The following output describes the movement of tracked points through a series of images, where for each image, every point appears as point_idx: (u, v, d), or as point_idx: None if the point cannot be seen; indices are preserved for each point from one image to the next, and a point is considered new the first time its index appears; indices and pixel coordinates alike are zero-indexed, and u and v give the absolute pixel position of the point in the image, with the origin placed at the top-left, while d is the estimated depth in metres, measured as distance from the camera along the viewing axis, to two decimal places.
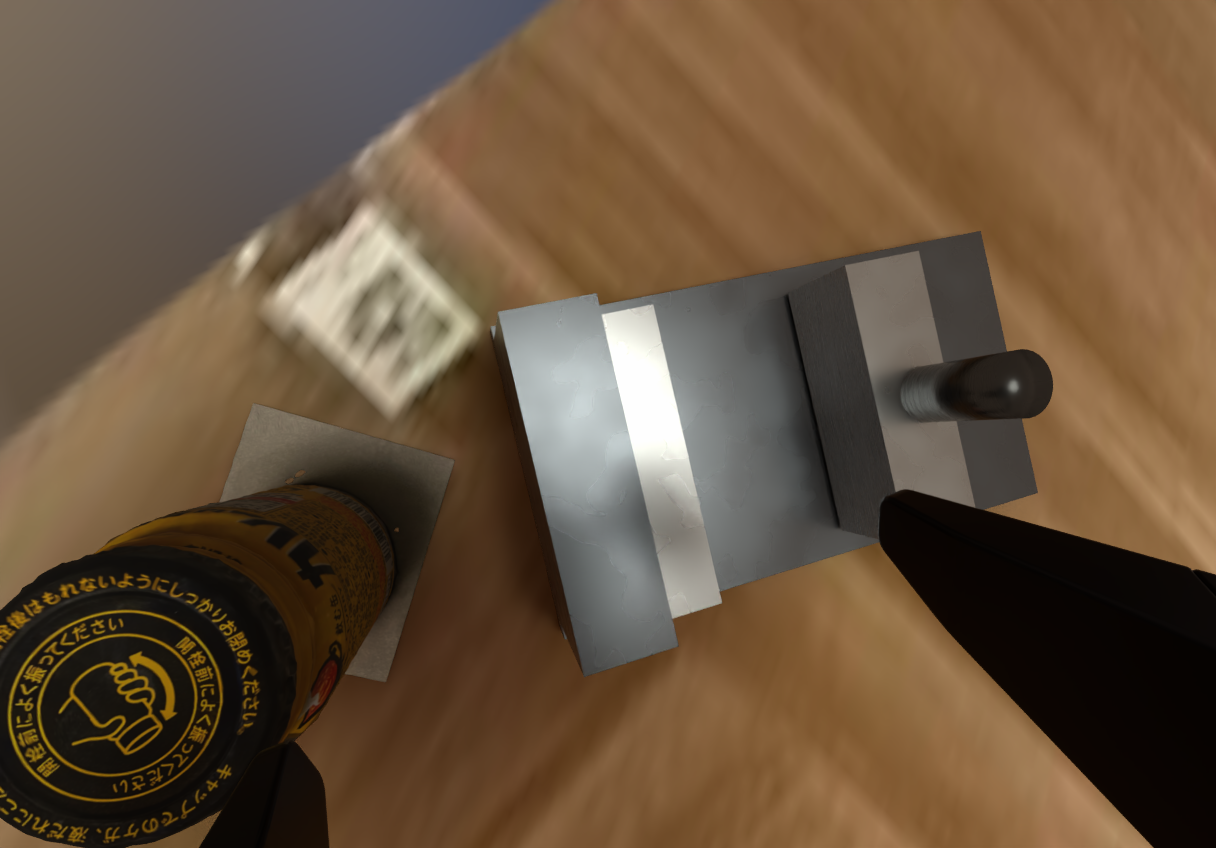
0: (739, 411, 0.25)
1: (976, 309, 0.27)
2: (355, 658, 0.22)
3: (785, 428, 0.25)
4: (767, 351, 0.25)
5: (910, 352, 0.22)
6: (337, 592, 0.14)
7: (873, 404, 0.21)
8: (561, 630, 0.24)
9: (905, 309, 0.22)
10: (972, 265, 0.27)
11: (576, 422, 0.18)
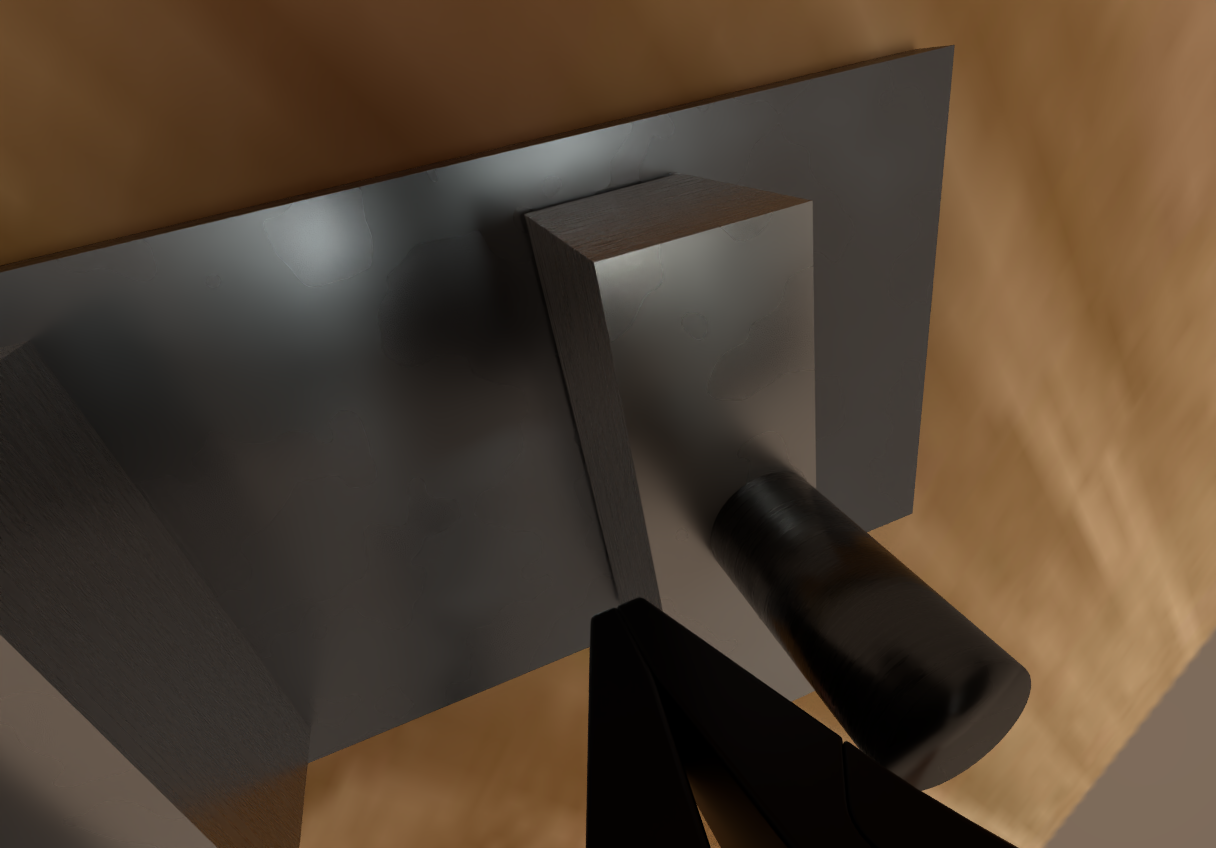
0: (387, 478, 0.12)
1: (898, 230, 0.14)
2: None
3: (489, 493, 0.13)
4: (441, 357, 0.11)
5: (746, 452, 0.09)
6: None
7: (650, 556, 0.10)
8: None
9: (750, 360, 0.09)
10: (915, 132, 0.13)
11: None
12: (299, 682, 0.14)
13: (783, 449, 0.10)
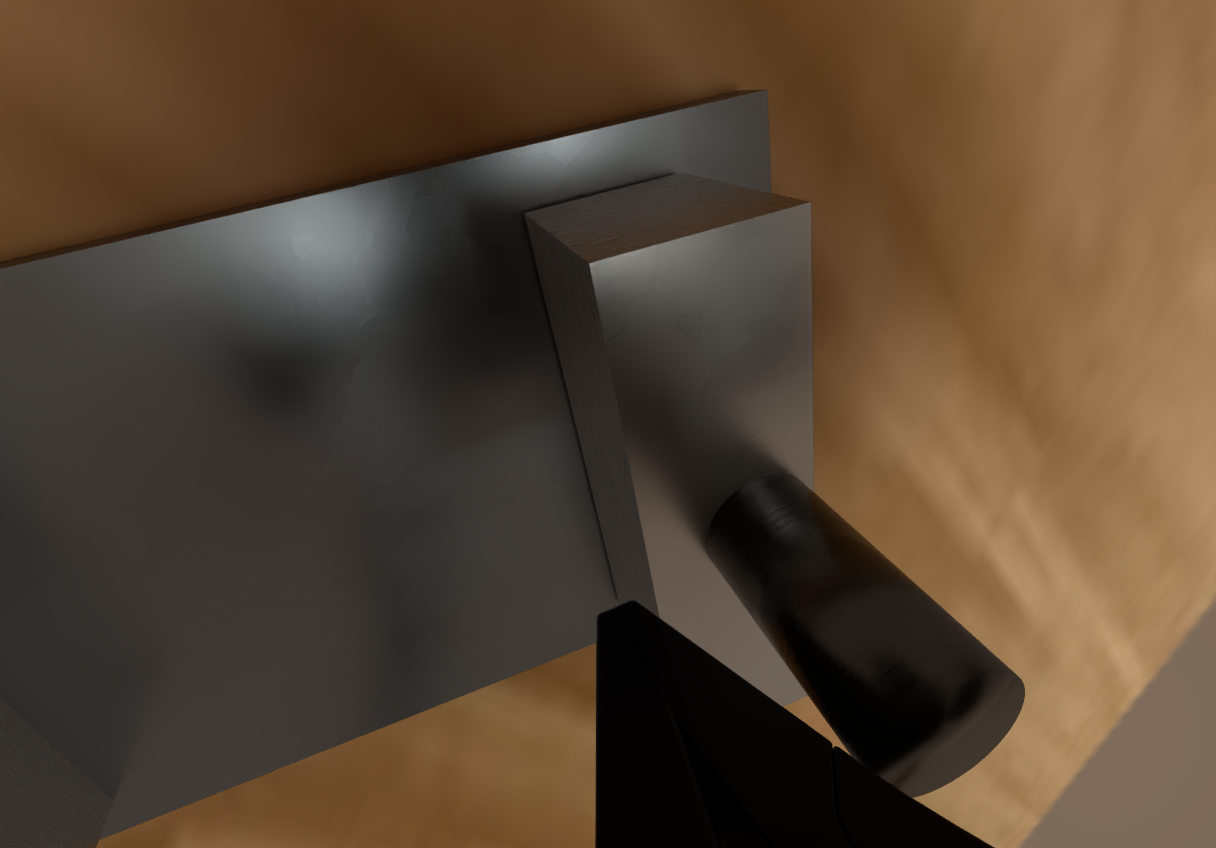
0: (157, 550, 0.11)
1: None
2: None
3: (282, 561, 0.12)
4: (199, 426, 0.11)
5: (743, 454, 0.09)
6: None
7: (644, 558, 0.10)
8: None
9: (746, 362, 0.09)
10: (733, 181, 0.12)
11: None
12: (91, 754, 0.13)
13: (780, 451, 0.10)
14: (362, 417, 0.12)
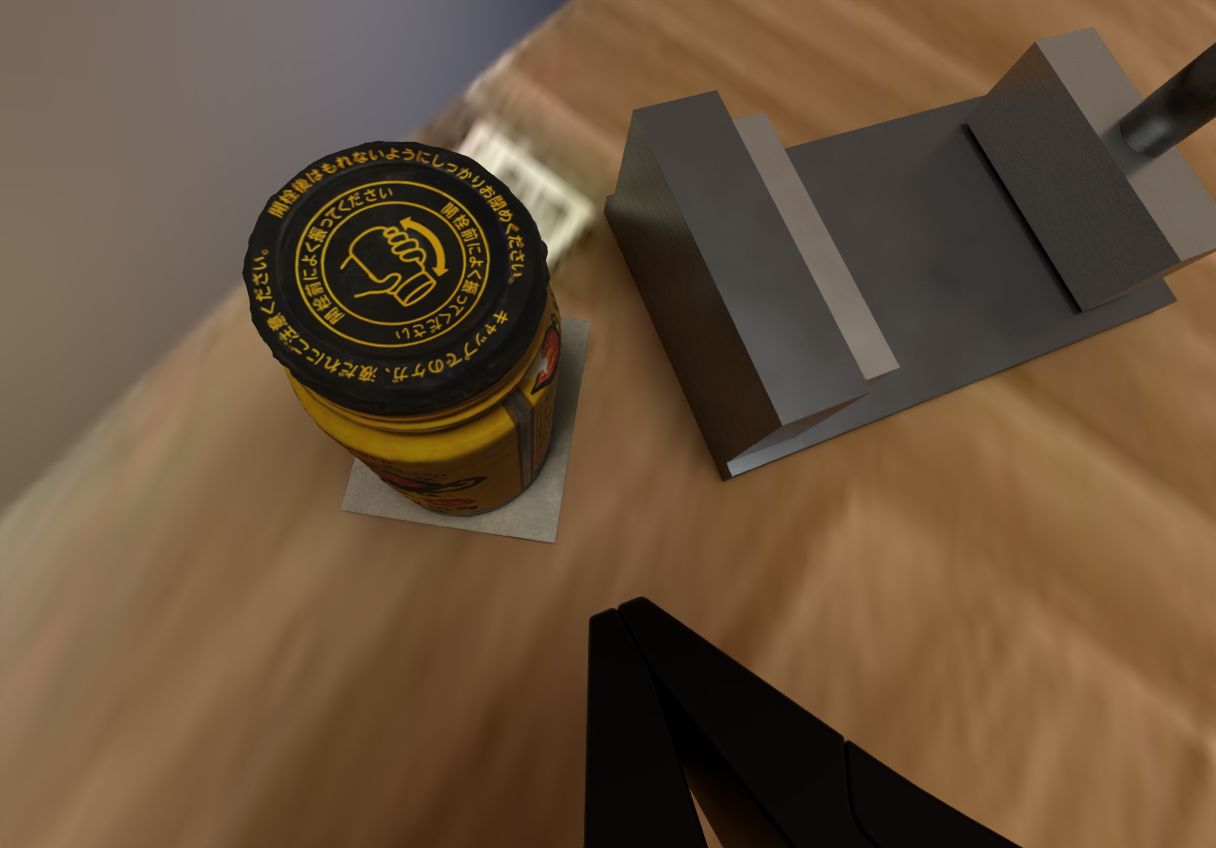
0: (854, 249, 0.25)
1: None
2: (520, 521, 0.21)
3: (902, 260, 0.25)
4: (866, 195, 0.26)
5: (1117, 102, 0.23)
6: None
7: (1099, 147, 0.23)
8: (724, 476, 0.22)
9: (1099, 70, 0.24)
10: None
11: (722, 193, 0.19)
12: None
13: (1132, 103, 0.23)
14: (923, 195, 0.26)
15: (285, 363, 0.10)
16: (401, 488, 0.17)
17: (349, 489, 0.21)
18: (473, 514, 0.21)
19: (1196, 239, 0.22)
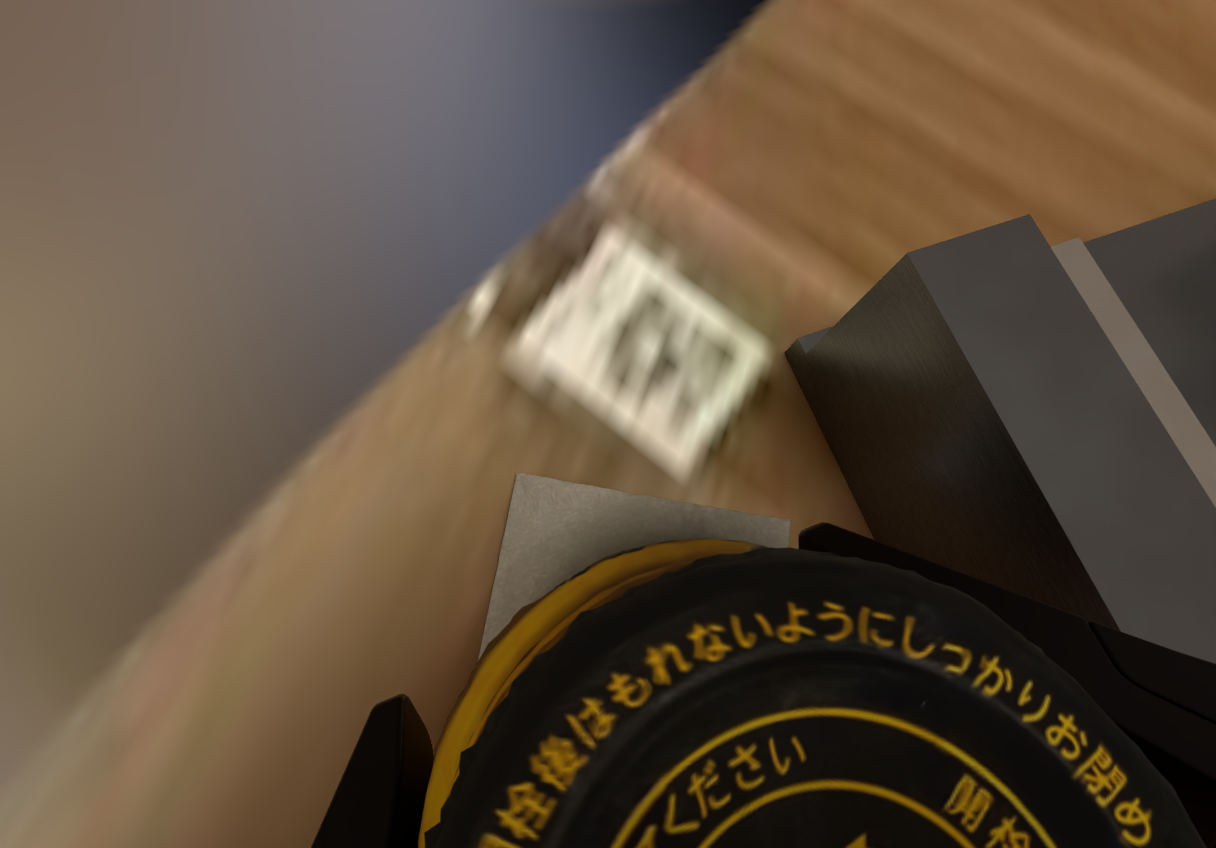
0: None
1: None
2: None
3: None
4: (1157, 325, 0.18)
5: None
6: None
7: None
8: None
9: None
10: None
11: (1066, 394, 0.11)
12: None
13: None
14: None
15: None
16: None
17: None
18: None
19: None
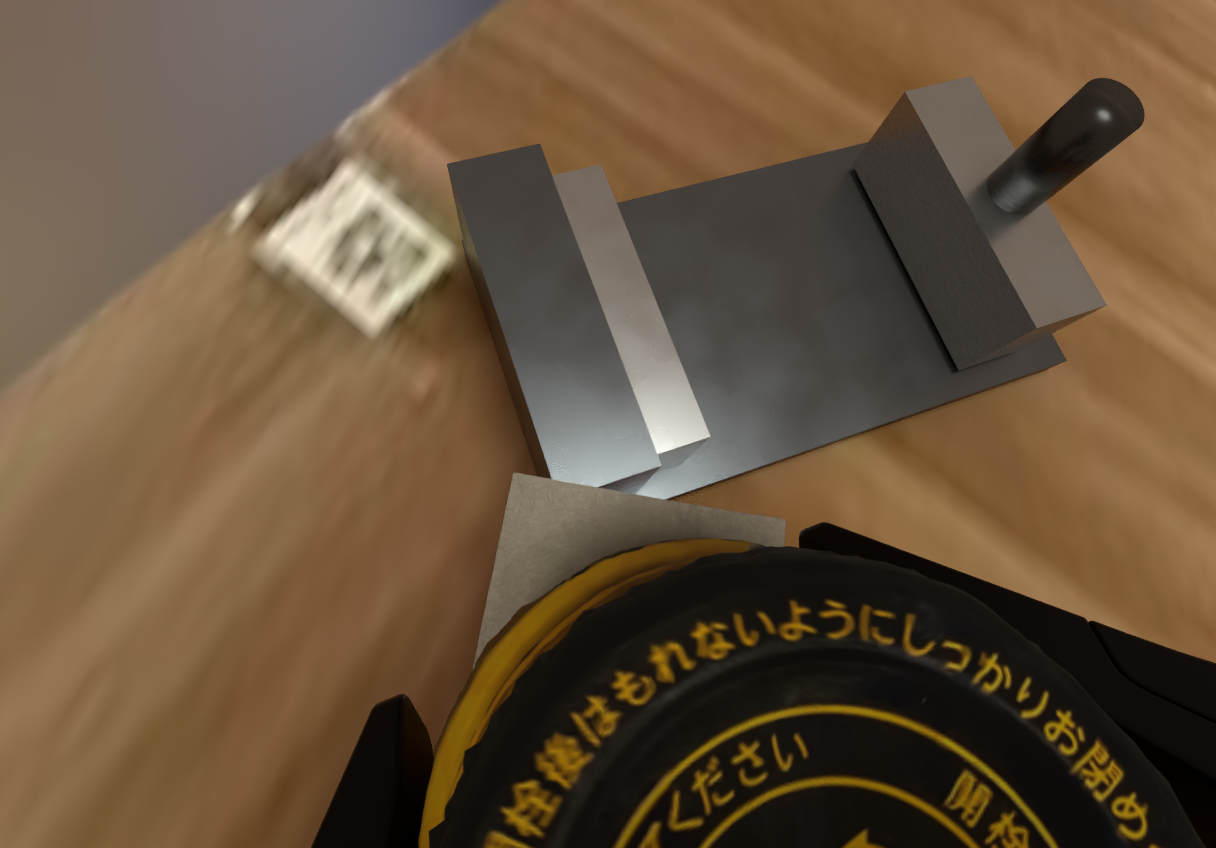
0: (718, 299, 0.24)
1: None
2: None
3: (769, 312, 0.24)
4: (738, 244, 0.25)
5: (987, 157, 0.22)
6: None
7: (963, 203, 0.22)
8: None
9: (972, 122, 0.23)
10: None
11: (529, 252, 0.18)
12: None
13: (1004, 157, 0.22)
14: (799, 244, 0.25)
15: None
16: None
17: None
18: None
19: (1057, 305, 0.21)
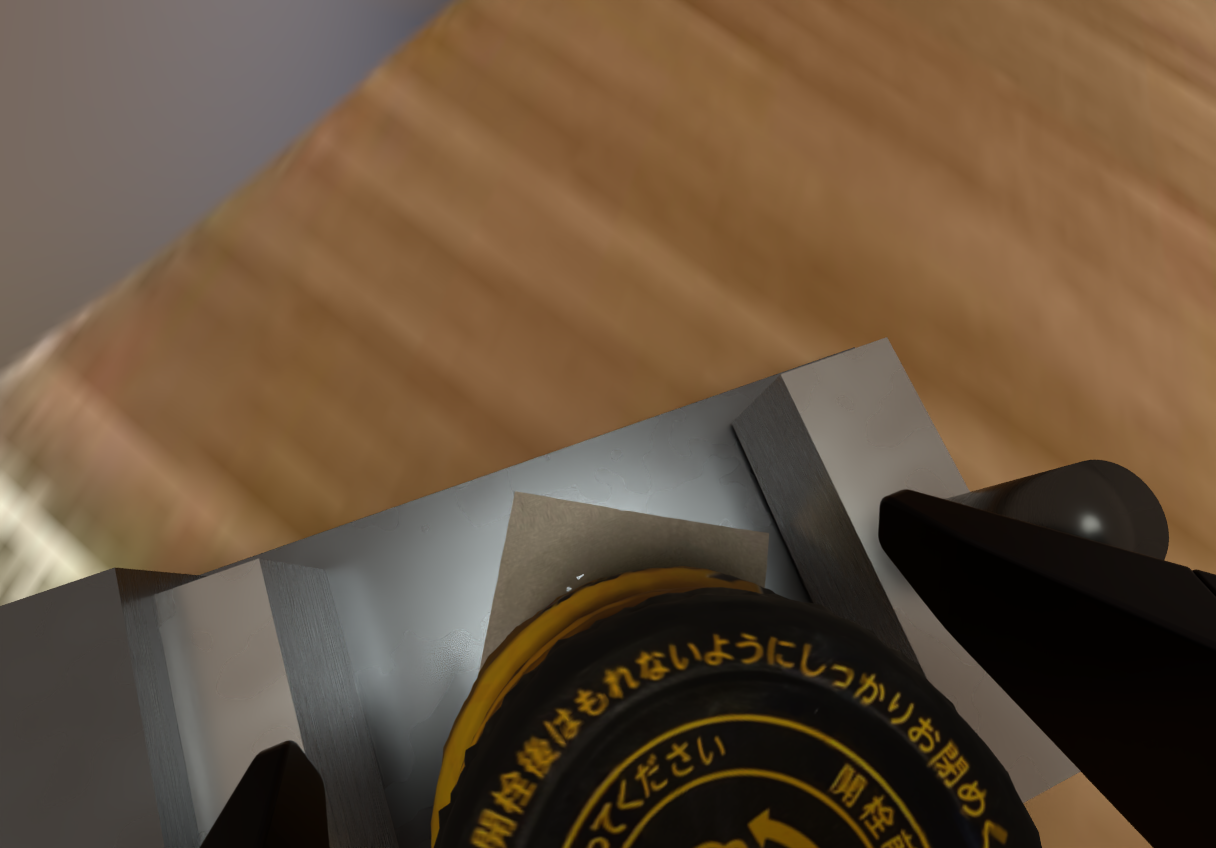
0: None
1: None
2: None
3: None
4: None
5: (912, 483, 0.14)
6: None
7: (872, 572, 0.14)
8: None
9: (887, 421, 0.14)
10: None
11: (54, 813, 0.10)
12: None
13: (939, 482, 0.14)
14: None
15: None
16: None
17: None
18: None
19: (1028, 765, 0.13)
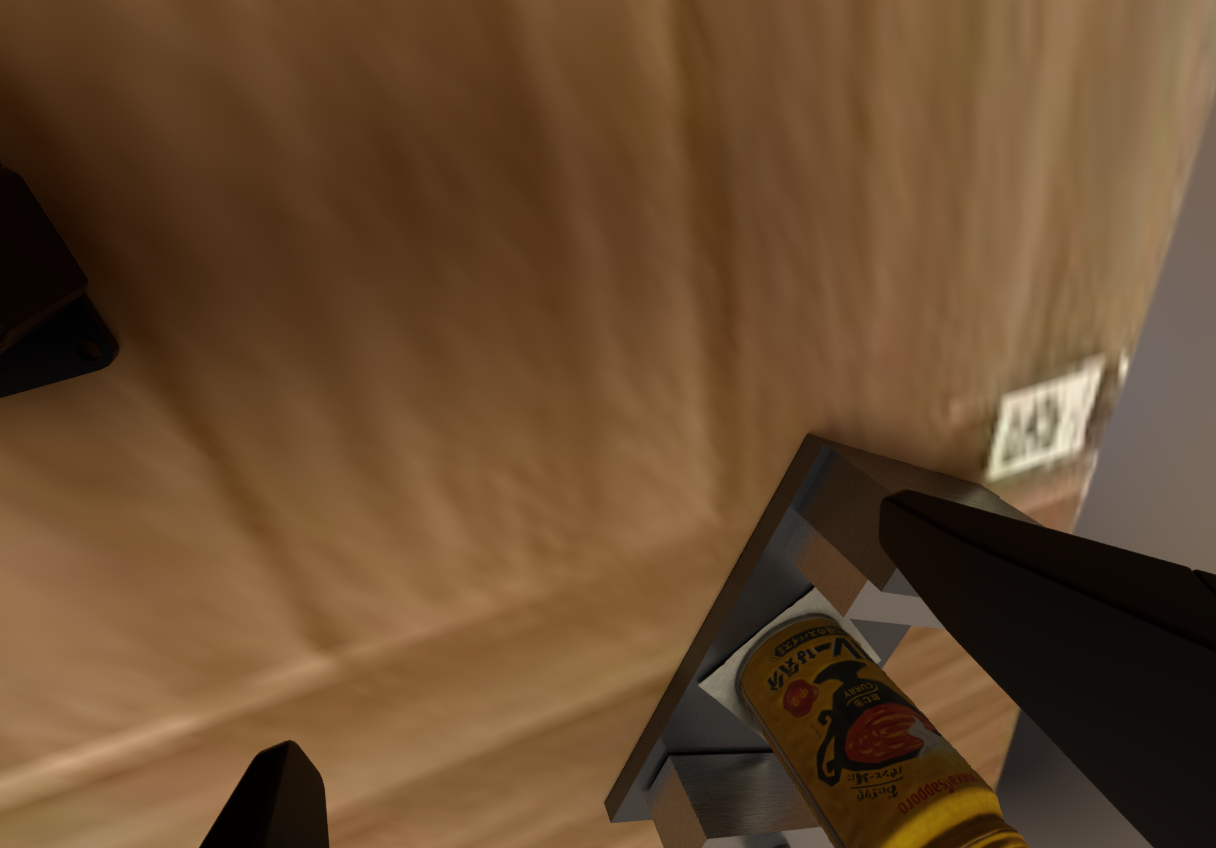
0: None
1: None
2: (724, 670, 0.28)
3: None
4: None
5: None
6: None
7: (792, 826, 0.29)
8: (814, 438, 0.25)
9: None
10: None
11: None
12: None
13: None
14: None
15: None
16: (841, 709, 0.24)
17: None
18: (752, 650, 0.28)
19: None
